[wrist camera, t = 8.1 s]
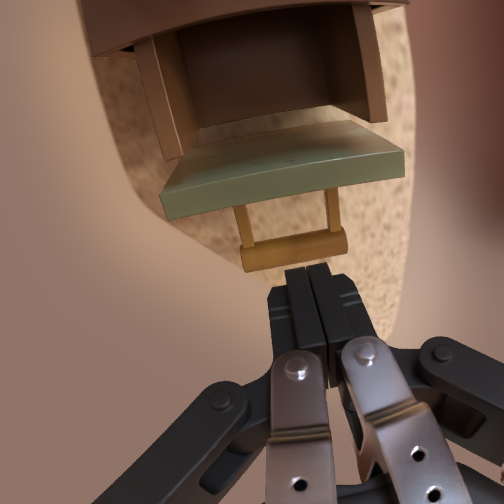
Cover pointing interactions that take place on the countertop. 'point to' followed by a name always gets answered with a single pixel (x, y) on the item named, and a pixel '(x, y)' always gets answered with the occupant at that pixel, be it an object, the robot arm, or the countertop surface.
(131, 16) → the cabinet
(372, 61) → the drawer
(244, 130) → the countertop surface
